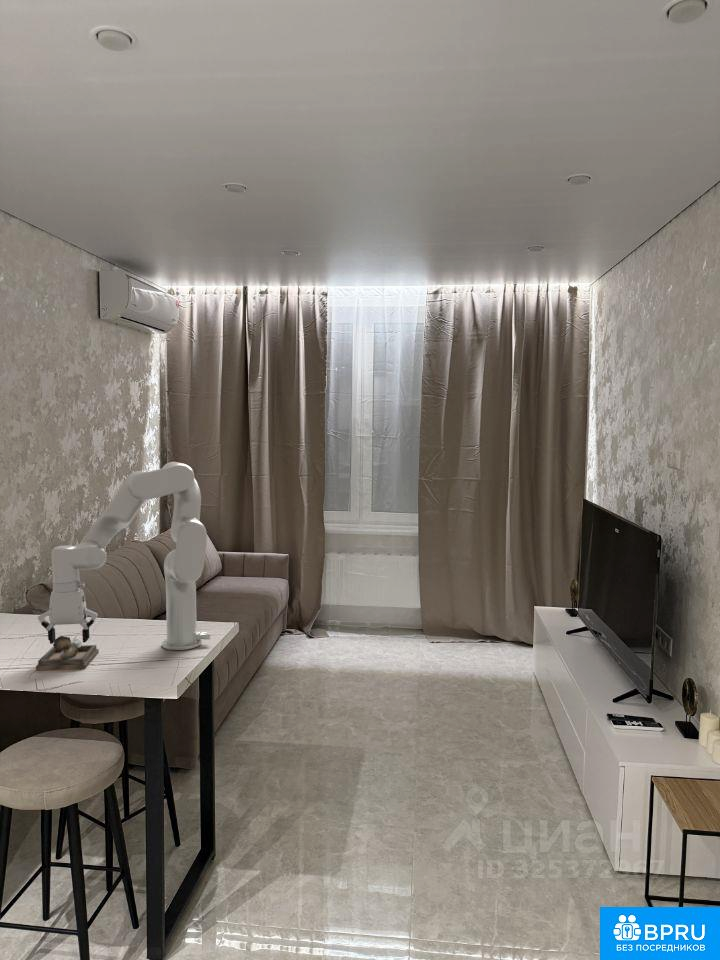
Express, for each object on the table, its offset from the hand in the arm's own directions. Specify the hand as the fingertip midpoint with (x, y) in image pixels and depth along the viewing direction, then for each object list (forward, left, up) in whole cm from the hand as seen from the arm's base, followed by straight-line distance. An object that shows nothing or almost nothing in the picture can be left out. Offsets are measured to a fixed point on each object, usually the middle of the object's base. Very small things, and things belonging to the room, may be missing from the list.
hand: (69, 641), depth 218 cm
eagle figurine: (0, +2, -4) cm, 5 cm away
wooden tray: (0, 0, -6) cm, 6 cm away
